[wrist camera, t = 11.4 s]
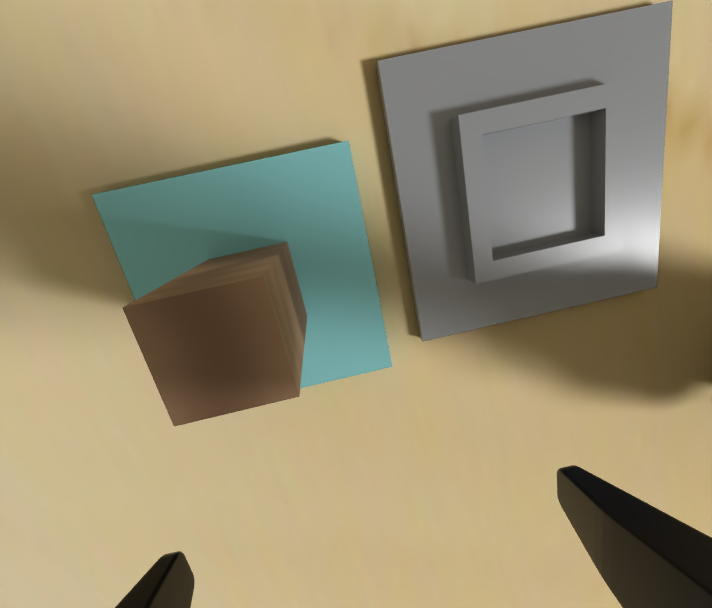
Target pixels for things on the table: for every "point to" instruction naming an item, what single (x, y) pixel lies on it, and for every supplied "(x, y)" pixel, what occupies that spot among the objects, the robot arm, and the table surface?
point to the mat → (265, 243)
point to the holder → (530, 167)
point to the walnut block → (224, 334)
